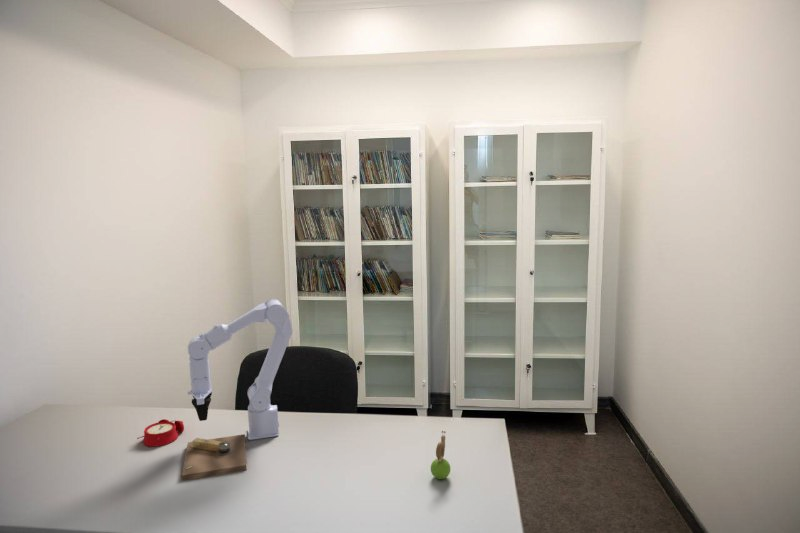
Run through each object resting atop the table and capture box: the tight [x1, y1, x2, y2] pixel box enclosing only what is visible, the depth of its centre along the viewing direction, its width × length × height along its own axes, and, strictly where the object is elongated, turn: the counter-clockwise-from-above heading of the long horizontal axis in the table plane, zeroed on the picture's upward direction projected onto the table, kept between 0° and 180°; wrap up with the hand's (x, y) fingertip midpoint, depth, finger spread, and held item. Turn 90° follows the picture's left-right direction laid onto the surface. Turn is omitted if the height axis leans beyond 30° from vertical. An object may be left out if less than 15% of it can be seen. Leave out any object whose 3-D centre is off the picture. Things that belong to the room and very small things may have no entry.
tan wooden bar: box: [191, 437, 230, 454], centre depth 160 cm, size 12×3×2 cm, turn 72°
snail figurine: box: [430, 430, 451, 480], centre depth 145 cm, size 5×6×12 cm
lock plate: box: [181, 434, 247, 481], centre depth 158 cm, size 17×20×2 cm
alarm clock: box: [137, 418, 185, 448], centre depth 172 cm, size 10×6×15 cm
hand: (203, 417), depth 166 cm, fingers open, 3 cm apart
